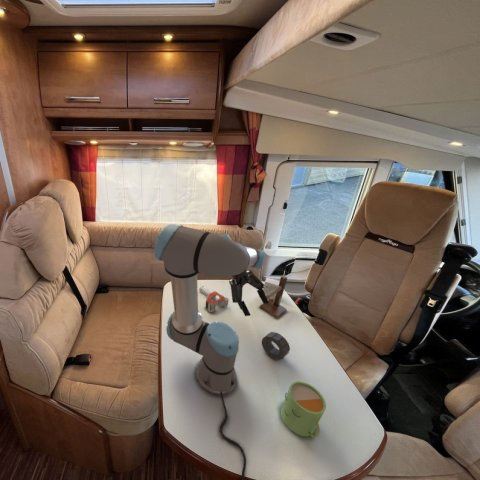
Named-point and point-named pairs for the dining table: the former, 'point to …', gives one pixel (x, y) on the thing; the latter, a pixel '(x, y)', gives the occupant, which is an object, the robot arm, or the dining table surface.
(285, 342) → the tape roll
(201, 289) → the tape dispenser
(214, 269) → the robot arm
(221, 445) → the dining table surface
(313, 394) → the mug
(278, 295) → the tape stand
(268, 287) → the small box
